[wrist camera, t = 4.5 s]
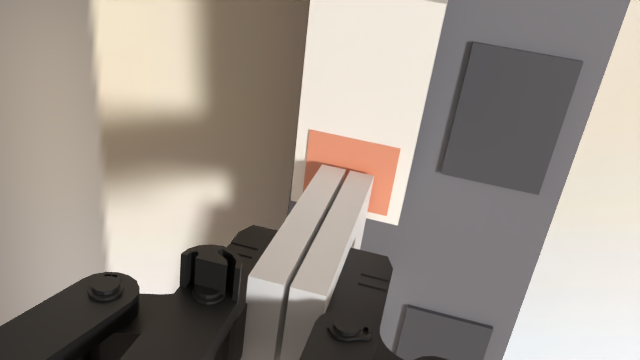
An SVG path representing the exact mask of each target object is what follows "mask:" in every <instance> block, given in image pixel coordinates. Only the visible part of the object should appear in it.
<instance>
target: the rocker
mask: <svg viewBox="0 0 640 360" xmlns="http://www.w3.org/2000/svg"><path fill="white" fill-rule="evenodd" d="M447 2H448V0H310V7H309V17H308V28H307V38H306V48H305V58H304V68H303V79H302V89H301V99H300V109H299V119H298V130H297V140H296V150H295V160H294V170H293V181H292V191H291V201H295V202H298V200H299V198H300V197H301V195H302V194H303V192H304V191H305V189H306V188H307V186H308V185H309V183H310V182H311V180H312V179H313V177H314V176H315V174H316V173H317V171H318V170H319V168H320V167H321V165H322V164H323V165H328V166H332V167H337V168H341V169H346V172H345V177H344V181H345V179H346V178H347V176H348V174H349V172H350V171H355V172H359V173H364V174H369V175H373V176H374V180H373V185H372V190H371V195H370V200H369V206H368V211H367V216H366V218H368V219H372V220H376V221H380V222H385V223H389V224H393V225H397V226H398V222H399V218H400V214H401V210H402V206H403V202H404V197H405V192H406V188H407V183H408V179H409V174H410V170H411V165H412V161H413V156H414V152H415V147H416V143H417V138H418V134H419V129H420V125H421V120H422V116H423V111H424V107H425V102H426V97H427V93H428V88H429V84H430V79H431V75H432V70H433V66H434V61H435V57H436V52H437V48H438V43H439V39H440V34H441V30H442V25H443V21H444V16H445V12H446V7H447Z"/></svg>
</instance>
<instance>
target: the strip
mask: <svg viewBox="0 0 640 360" xmlns="http://www.w3.org/2000/svg"><path fill="white" fill-rule="evenodd" d="M629 3H630V0H448V2H447V7H446V12H445V16H444V21H443V25H442V30H441V34H440V39H439V43H438V48H437V52H436V57H435V61H434V66H433V70H432V75H431V79H430V84H429V88H428V93H427V97H426V102H425V107H424V111H423V116H422V120H421V125H420V129H419V134H418V138H417V143H416V147H415V152H414V156H413V161H412V165H411V170H410V174H409V179H408V183H407V188H406V192H405V197H404V202H403V206H402V210H401V214H400V218H399V222H398V226H397V225H393V224H389V223H385V222H380V221H376V220H372V219H368V218H366V221H365V226H364V232H363V237H362V242H361V247H360V250H363V251H368V252H372V253H376V254H380V255H384V256H388V258H389V261H390V263H391V265H392V267H393V272H392V276H391V281H390V285H389V289H388V294H387V298H386V303H385V307H384V312H383V316H382V321H381V325H380V336H381V339H382V341H383V342H384V344H385V345H386V347H387V348H388V349H389V350H390V351H392V352H393V353H394V354H395V355H397V356H398V357H400V358H402V359H403V360H414V359H417V358H419V357H422V356H437V357H441V358H445V359H448V360H502V359H503V356H504V353H505V350H506V347H507V345H508V342H509V339H510V336H511V333H512V331H513V328H514V325H515V322H516V319H517V317H518V314H519V311H520V308H521V305H522V303H523V300H524V297H525V294H526V291H527V289H528V286H529V283H530V280H531V277H532V275H533V272H534V269H535V266H536V263H537V261H538V258H539V255H540V252H541V249H542V246H543V244H544V241H545V238H546V235H547V232H548V230H549V227H550V224H551V221H552V218H553V216H554V213H555V210H556V207H557V204H558V202H559V199H560V196H561V193H562V190H563V188H564V185H565V182H566V179H567V176H568V174H569V171H570V168H571V165H572V162H573V160H574V157H575V154H576V151H577V148H578V146H579V143H580V140H581V137H582V134H583V132H584V129H585V126H586V123H587V120H588V118H589V115H590V112H591V109H592V106H593V104H594V101H595V98H596V95H597V92H598V90H599V87H600V84H601V81H602V78H603V75H604V73H605V70H606V67H607V64H608V61H609V59H610V56H611V53H612V50H613V47H614V45H615V42H616V39H617V36H618V33H619V31H620V28H621V25H622V22H623V19H624V17H625V14H626V11H627V8H628V5H629ZM294 160H295V158H294ZM293 170H294V166H293ZM292 181H293V174H292ZM291 191H292V183H291ZM291 191H290V199H289V207H288V215H289V214H290V212H291V211H292V209H293V208H294V206H295V205H296V203H297V202H295V201H291ZM288 215H287V217H288Z"/></svg>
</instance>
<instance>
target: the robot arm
mask: <svg viewBox="0 0 640 360" xmlns="http://www.w3.org/2000/svg"><path fill="white" fill-rule="evenodd" d="M345 172H346V169H341V168H337V167H332V166H328V165H323V164H322V165H321V167H320V168H319V170H318V171H317V173H316V174H315V176H314V177H313V179H312V180H311V182H310V183H309V185H308V186H307V188H306V189H305V191H304V192H303V194H302V195H301V197H300V198H299V200H298V202H297V203H296V205H295V206H294V208H293V209H292V211H291V212H290V214H289V215H288V217H287V218H286V220H285V221H284V223H283V224H282V226H281V227H280V229H279V230H278V231H276V230H272V229H267V228H263V227H259V226H255V225H252V226H250V227H248V228H246V229H244V230H242V231H240V232H239V233H238V234H237V235H236V237H235V238H234V239H233V240H232V242H231V244H229V245H228V247H227V248H226V247H224V246H218V245H199V246H196V247H193V248H189V249H187V250H186V251H185V252H183V253H182V254H181V268H180V287H179V288H178V289H177V290H176V292H175V293H174V294H164V295H158V294H139V286H138V283H137V281H136V280H135V279H133V278H132V277H130V276H129V275H125V274H122V273H118V272H104V273H98V274H93V275H91V276H88V277H86V278H84V279H82V280H80V281H78V282H76V283H75V284H73V285H71V286H69V287H68V288H66V289H64V290H63V291H61V292H59V293H57V294H56V295H54V296H52V297H50V298H49V299H47V300H45V301H43V302H42V303H40V304H38V305H36V306H35V307H33V308H31V309H29V310H28V311H26V312H24V313H22V314H21V315H19V316H18V317H16V318H14V319H12V320H10V321H9V322H7V323H5V324H3V325H2V326H0V360H403V359H402V358H400V357H398V356H397V355H395V354H394V353H393V352H392V351H390V350H389V349H388V348H387V347H386V345H385V344H384V342H383V341H382V339H381V336H380V325H381V321H382V316H383V312H384V307H385V303H386V298H387V294H388V289H389V285H390V281H391V276H392V272H393V267H392V265H391V263H390V261H389V258H388V256H384V255H380V254H376V253H372V252H368V251H363V250H360V247H361V242H362V237H363V232H364V226H365V221H366V216H367V211H368V206H369V200H370V195H371V190H372V185H373V180H374V176H373V175H369V174H364V173H359V172H355V171H350V172H349V174H348V176H347V178H346V179H345V181H344V177H345ZM414 360H448V359H445V358H441V357H437V356H422V357H419V358H417V359H414Z"/></svg>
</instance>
